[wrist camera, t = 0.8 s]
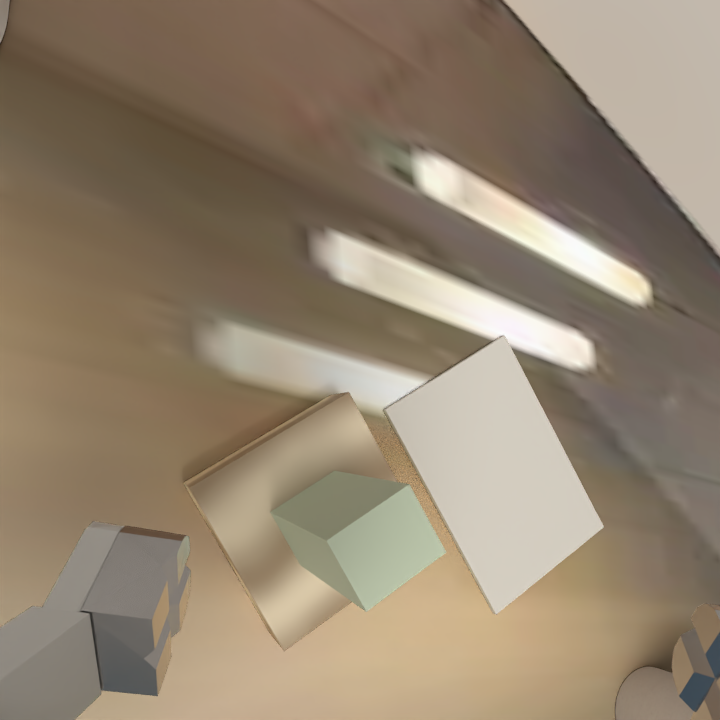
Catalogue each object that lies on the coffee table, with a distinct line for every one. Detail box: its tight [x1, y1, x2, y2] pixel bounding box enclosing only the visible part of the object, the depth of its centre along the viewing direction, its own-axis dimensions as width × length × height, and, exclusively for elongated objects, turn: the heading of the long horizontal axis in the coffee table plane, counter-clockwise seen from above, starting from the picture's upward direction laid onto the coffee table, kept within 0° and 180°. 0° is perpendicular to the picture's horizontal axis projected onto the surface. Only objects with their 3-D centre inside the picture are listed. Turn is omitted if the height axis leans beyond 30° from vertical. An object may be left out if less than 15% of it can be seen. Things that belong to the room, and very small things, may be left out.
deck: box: [183, 392, 398, 651], centre depth 47 cm, size 12×12×4 cm
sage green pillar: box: [270, 471, 446, 612], centre depth 39 cm, size 4×5×12 cm
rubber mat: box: [383, 336, 604, 614], centre depth 54 cm, size 18×12×1 cm, turn 30°
